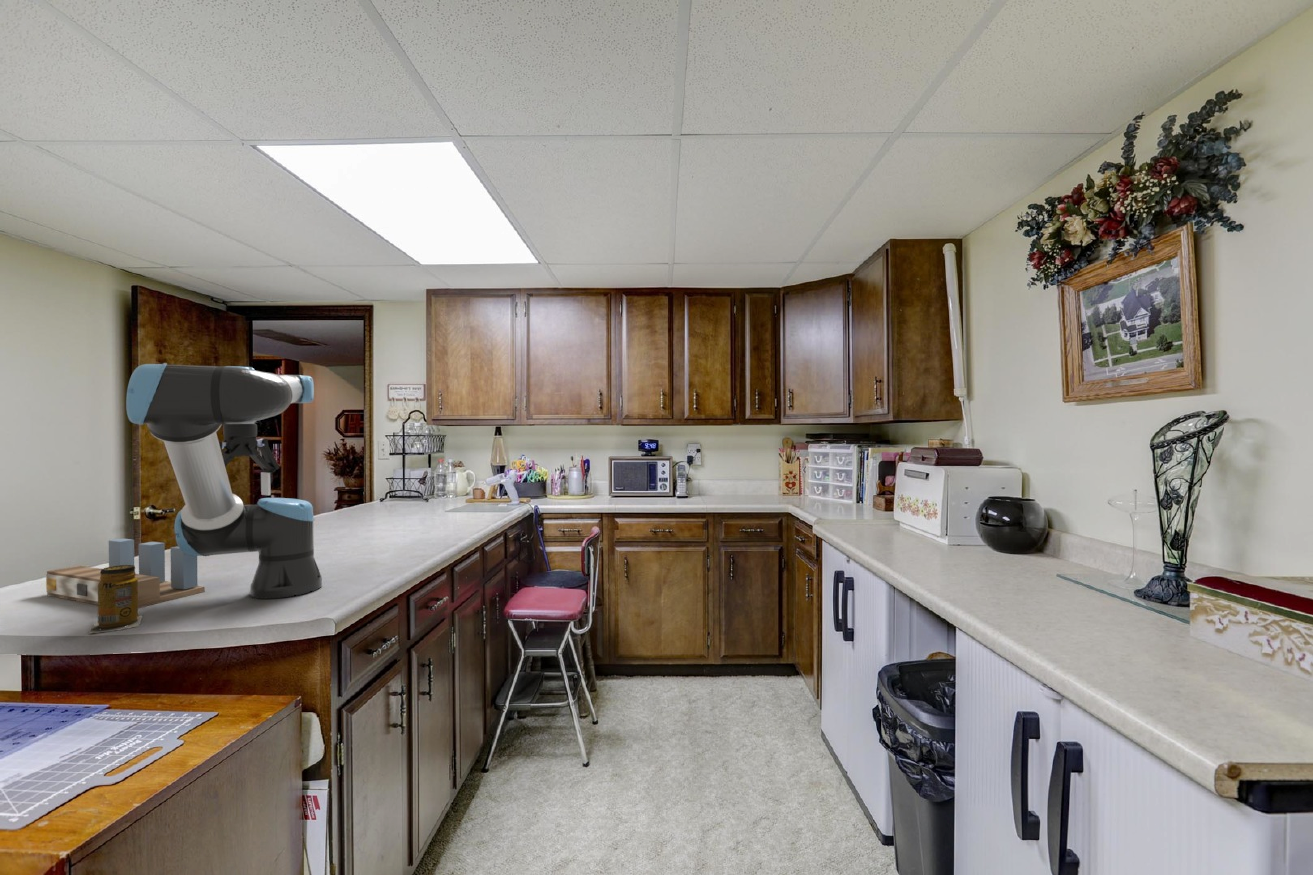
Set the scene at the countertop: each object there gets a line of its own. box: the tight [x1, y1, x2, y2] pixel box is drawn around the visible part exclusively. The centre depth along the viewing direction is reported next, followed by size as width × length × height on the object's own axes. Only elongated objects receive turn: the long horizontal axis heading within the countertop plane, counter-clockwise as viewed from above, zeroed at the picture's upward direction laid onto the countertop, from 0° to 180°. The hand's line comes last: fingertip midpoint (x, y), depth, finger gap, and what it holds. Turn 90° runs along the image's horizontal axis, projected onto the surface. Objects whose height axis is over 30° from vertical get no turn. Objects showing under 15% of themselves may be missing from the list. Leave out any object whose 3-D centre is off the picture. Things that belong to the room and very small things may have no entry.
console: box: [45, 565, 206, 609], centre depth 137 cm, size 33×16×6 cm, turn 70°
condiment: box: [88, 565, 143, 635], centre depth 115 cm, size 7×8×12 cm
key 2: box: [170, 545, 199, 590], centre depth 138 cm, size 5×3×10 cm, turn 70°
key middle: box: [138, 541, 166, 582], centre depth 142 cm, size 5×3×10 cm, turn 70°
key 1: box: [108, 538, 135, 567], centre depth 147 cm, size 5×3×10 cm, turn 70°
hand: (242, 498), depth 154 cm, fingers open, 13 cm apart
